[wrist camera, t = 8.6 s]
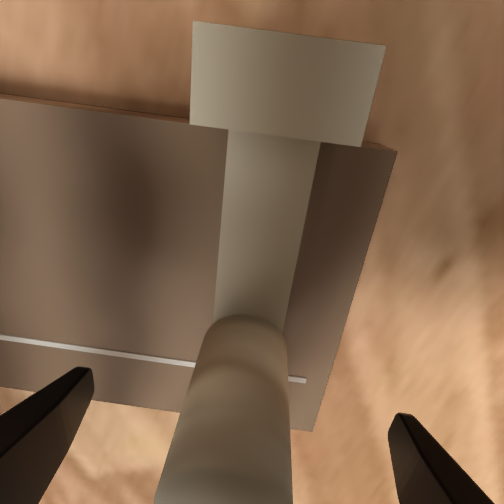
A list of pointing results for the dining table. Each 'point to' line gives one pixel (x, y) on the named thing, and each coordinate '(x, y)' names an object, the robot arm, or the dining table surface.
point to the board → (155, 251)
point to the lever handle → (258, 246)
